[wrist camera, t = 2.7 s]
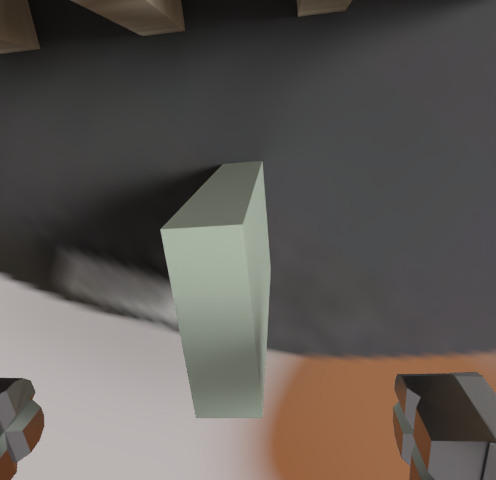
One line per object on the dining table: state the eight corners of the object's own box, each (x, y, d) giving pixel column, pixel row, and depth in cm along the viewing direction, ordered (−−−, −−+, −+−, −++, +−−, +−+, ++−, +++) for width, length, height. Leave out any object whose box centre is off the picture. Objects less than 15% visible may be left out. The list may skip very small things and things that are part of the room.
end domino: (235, 271, 20) (196, 418, 11) (222, 163, 18) (160, 229, 8) (270, 269, 20) (262, 418, 10) (262, 160, 18) (242, 224, 8)
